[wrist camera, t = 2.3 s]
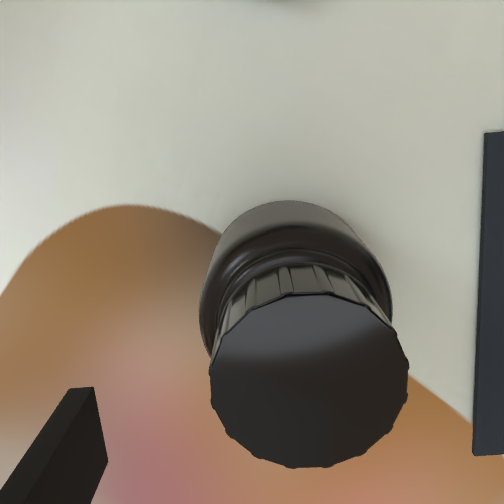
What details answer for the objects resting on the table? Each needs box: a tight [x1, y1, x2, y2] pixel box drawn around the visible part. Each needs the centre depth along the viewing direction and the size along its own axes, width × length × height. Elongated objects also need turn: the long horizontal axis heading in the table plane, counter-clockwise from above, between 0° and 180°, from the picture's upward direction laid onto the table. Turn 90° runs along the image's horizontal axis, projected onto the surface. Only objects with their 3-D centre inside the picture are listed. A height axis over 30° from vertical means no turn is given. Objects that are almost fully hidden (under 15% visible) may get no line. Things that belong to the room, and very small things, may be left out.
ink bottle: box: [199, 201, 409, 469], centre depth 22 cm, size 10×9×12 cm
